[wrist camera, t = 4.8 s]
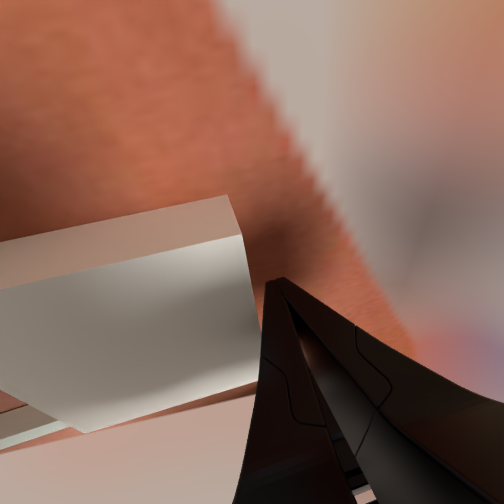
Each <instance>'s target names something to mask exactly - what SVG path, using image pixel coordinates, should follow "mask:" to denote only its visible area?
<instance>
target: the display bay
mask: <svg viewBox="0 0 504 504" xmlns="http://www.w3.org/2000/svg"><path fill="white" fill-rule="evenodd" d="M67 427H70V426H68V425H67V424H65V423H63V422H61V421H59V420H57V419H55V418H53V417H51V416H49V415H47V414H45V413H43V412H42V411H40V410H38V409H36V408H34V407H32V406H30V405H27V406H24V407H21V408H17V409H14V410H11V411H8V412H5V413H2V414H0V450H1V449H4V448H7V447H10V446H13V445H16V444H19V443H22V442H25V441H28V440H31V439H34V438H37V437H40V436H43V435H46V434H49V433H52V432H55V431H58V430H61V429H64V428H67Z"/></svg>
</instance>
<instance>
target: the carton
mask: <svg viewBox="0 0 504 504" xmlns="http://www.w3.org/2000/svg"><path fill="white" fill-rule="evenodd" d="M260 349H261V331H260V326H259V321H258V315H257V310H256V305H255V300H254V294H253V289H252V284H251V279H250V274H249V268H248V263H247V258H246V253H245V248H244V242H243V237H242V233H241V230H240V228H239V225H238V222H237V220H236V217H235V214H234V212H233V209H232V206H231V204H230V201H229V198H228V196H227V195H222V196H217V197H213V198H208V199H203V200H198V201H194V202H189V203H184V204H179V205H174V206H170V207H165V208H160V209H155V210H151V211H146V212H141V213H136V214H132V215H127V216H122V217H117V218H112V219H108V220H103V221H98V222H93V223H89V224H84V225H79V226H74V227H70V228H65V229H60V230H55V231H51V232H46V233H41V234H36V235H31V236H27V237H22V238H17V239H12V240H8V241H3V242H0V390H1V391H3V392H5V393H7V394H9V395H11V396H13V397H15V398H16V399H18V400H20V401H22V402H24V403H26V404H28V405H30V406H32V407H34V408H36V409H38V410H40V411H42V412H43V413H45V414H47V415H49V416H51V417H53V418H55V419H57V420H59V421H61V422H63V423H65V424H67V425H68V426H70V427H72V428H74V429H76V430H78V431H80V432H82V433H84V434H86V433H89V432H93V431H96V430H99V429H102V428H106V427H109V426H112V425H115V424H119V423H122V422H125V421H128V420H132V419H135V418H138V417H141V416H145V415H148V414H151V413H154V412H158V411H161V410H164V409H168V408H171V407H174V406H177V405H181V404H184V403H187V402H190V401H194V400H197V399H200V398H203V397H207V396H210V395H213V394H216V393H220V392H223V391H226V390H229V389H233V388H236V387H239V386H242V385H246V384H249V383H252V382H255V381H258V373H259V361H260Z"/></svg>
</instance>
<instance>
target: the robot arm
mask: <svg viewBox="0 0 504 504" xmlns="http://www.w3.org/2000/svg"><path fill="white" fill-rule="evenodd" d="M308 367H309V368H308ZM370 489H372V491H373V493H374V495H375V497H376V500H373V501H371V502H368V503H366V504H504V403H502V402H499V401H496V400H493V399H490V398H487V397H484V396H481V395H479V394H477V393H474V392H472V391H470V390H468V389H465V388H463V387H461V386H459V385H457V384H455V383H454V382H451V381H450V380H448V379H446V378H444V377H443V376H441V375H439V374H437V373H436V372H434V371H432V370H430V369H428V368H427V367H425V366H423V365H421V364H419V363H418V362H416V361H414V360H412V359H410V358H409V357H407V356H405V355H403V354H401V353H400V352H398V351H396V350H395V349H393V348H391V347H389V346H388V345H386V344H384V343H383V342H381V341H379V340H378V339H376V338H375V337H373V336H372V335H370V334H369V333H367V332H365V331H364V330H363V329H361V328H360V327H358V326H355V324H353V323H352V322H351V321H349V320H348V319H346V318H345V317H343V316H342V315H340V314H339V313H337V312H336V311H334V310H333V309H331V308H330V307H328V306H327V305H325V304H324V303H322V302H321V301H319V300H318V299H316V298H315V297H313V296H312V295H310V294H309V293H307V292H306V291H304V290H303V289H302V288H300V287H299V286H297V285H296V284H294V283H293V282H291V281H290V280H288V279H287V278H285V277H280V278H277V279H275V280H270V281H266V282H265V291H264V305H263V320H262V334H261V349H260V361H259V373H258V383H257V390H256V396H255V402H254V408H253V413H252V418H251V424H250V429H249V434H248V439H247V444H246V449H245V455H244V460H243V464H242V469H241V473H240V478H239V481H238V485H237V489H236V493H235V496H234V500H233V502H232V504H357V501H356V499H355V497H354V496H355V495H358V494H361V493H363V492H366V491H368V490H370Z"/></svg>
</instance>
